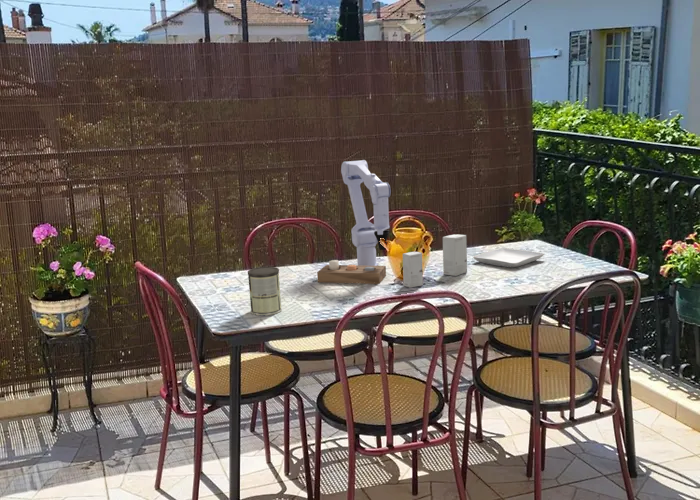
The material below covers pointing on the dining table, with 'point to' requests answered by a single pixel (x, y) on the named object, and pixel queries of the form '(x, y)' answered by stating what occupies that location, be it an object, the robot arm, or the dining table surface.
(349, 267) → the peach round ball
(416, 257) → the skincare box
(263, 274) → the coffee can
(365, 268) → the slate plunger
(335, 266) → the cream plunger
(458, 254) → the skincare box
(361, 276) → the walnut button box
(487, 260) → the salad plate
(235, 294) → the dining table surface
